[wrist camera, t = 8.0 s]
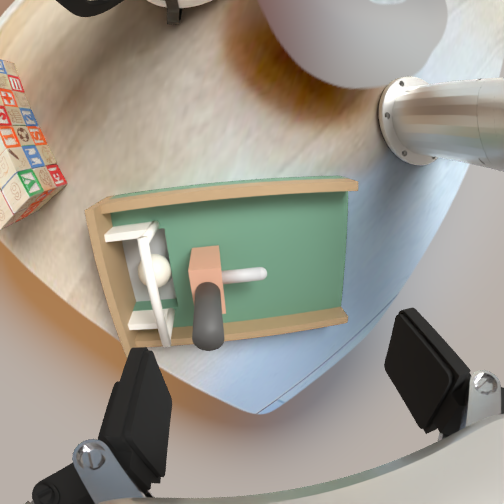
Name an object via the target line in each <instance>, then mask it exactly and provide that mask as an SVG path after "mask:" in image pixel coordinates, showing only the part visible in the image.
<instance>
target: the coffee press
mask: <svg viewBox="0 0 504 504" xmlns="http://www.w3.org/2000/svg"><path fill="white" fill-rule="evenodd" d="M56 1H57V2H58V3H60V4H61V5H62V6H63V7H65V8H66V9H67V10H69V11H70V12H71V13H73V14H75V15H77V16H80V17H91V16H95V15H98V14H101V13H103V12H105V11H107V10H109V9H111V8H112V7H114V6H116V5H117V4H119V3H121V2H122V1H124V0H56ZM147 1H149V2H150V3H152V4H155V5H158V6H162V7H167V24H175V25H179V24H180V21H181V16H182V9H183V8H187V7H193V6H198V5H201V4H204V3H207V2H210V1H212V0H147Z"/></svg>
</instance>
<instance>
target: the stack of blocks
mask: <svg viewBox="0 0 504 504" xmlns="http://www.w3.org/2000/svg"><path fill="white" fill-rule="evenodd" d="M56 163H57V162H56V160H55V158H54V156H53V154H52V152H51V150H50V148H49V146H48V145H47V142H46V140H45V138H44V136H43V133H42V131H41V129H40V127H39V126H38V124H37V122H36V119H35V117H34V115H33V113H32V110H31V108H30V106H29V103H28V101H27V99H26V96H25V94H24V90H23V87H22V84H21V82H20V79H19V76H18V73H17V70H16V67H15V64H14V63H12V62H8V61H5V60H0V230H1V229H3V228H5V227H7V226H9V225H11V224H13V223H14V222H17V221H19V220H21V219H23V218H25V217H27V216H28V215H30V214H32V213H34V212H36V211H38V210H39V209H40V208H41V207H42V206H43V205H44V204H45V203H47V202H48V201H49V200H50V199H51V198H52V197H53V196H54V195H56V194H57V193H58V192H59V191H60V190H61V189H62V188H63V187H65V186H66V185H67V181H66V180H65V178H64V176H63V175H62V173H61V171H60V169H59V168H58V165H57V164H56Z"/></svg>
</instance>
